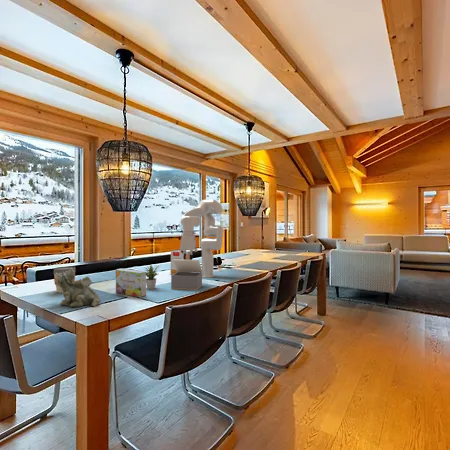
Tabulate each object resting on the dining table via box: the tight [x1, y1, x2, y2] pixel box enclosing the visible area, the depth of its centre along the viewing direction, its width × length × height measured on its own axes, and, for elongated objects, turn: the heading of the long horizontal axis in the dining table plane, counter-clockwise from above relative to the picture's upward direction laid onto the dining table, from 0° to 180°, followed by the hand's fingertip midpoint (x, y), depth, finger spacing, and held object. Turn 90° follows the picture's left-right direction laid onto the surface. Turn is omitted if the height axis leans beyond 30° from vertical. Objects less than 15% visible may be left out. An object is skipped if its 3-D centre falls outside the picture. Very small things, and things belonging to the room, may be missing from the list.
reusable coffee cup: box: [53, 266, 76, 293], centre depth 190 cm, size 13×13×15 cm
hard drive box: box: [170, 250, 191, 275], centre depth 251 cm, size 16×8×20 cm, turn 81°
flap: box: [173, 254, 202, 273], centre depth 208 cm, size 14×18×6 cm
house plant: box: [143, 264, 162, 290], centre depth 201 cm, size 14×14×16 cm
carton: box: [170, 272, 203, 291], centre depth 204 cm, size 14×18×9 cm
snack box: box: [115, 267, 147, 298], centre depth 183 cm, size 21×6×15 cm, turn 62°
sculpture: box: [54, 266, 101, 308], centre depth 162 cm, size 16×27×20 cm, turn 76°
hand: (188, 259), depth 206 cm, fingers closed on flap, 3 cm apart
